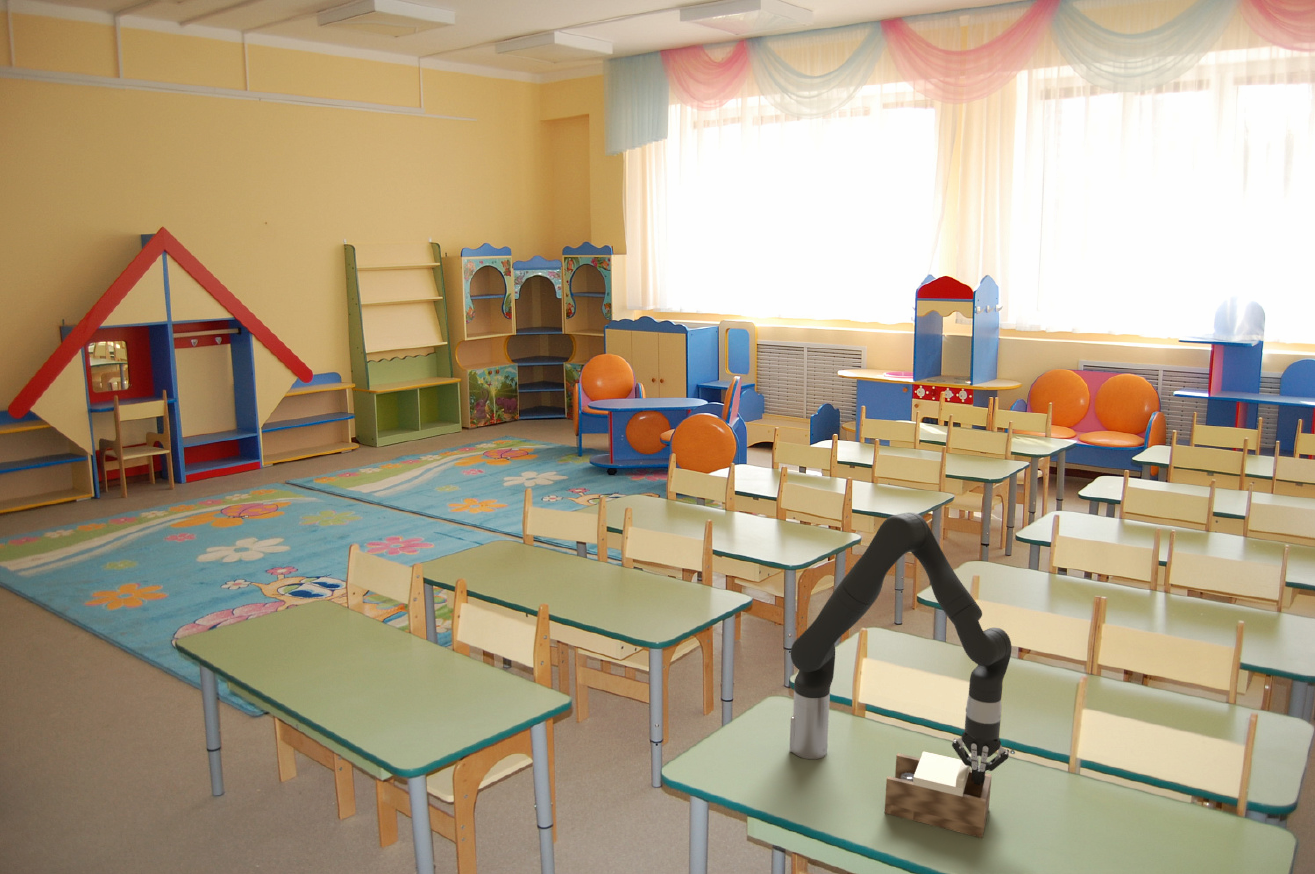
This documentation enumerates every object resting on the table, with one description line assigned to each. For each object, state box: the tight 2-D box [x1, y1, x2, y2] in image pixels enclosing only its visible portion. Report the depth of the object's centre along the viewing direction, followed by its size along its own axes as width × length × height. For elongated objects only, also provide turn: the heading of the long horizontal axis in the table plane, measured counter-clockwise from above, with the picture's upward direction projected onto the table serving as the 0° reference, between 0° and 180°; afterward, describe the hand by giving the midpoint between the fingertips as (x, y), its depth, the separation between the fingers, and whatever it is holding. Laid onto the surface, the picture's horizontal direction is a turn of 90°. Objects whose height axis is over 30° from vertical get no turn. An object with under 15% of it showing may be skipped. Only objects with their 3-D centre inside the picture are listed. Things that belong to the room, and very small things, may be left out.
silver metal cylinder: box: [901, 773, 914, 782], centre depth 228 cm, size 4×4×7 cm
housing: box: [884, 752, 992, 839], centre depth 225 cm, size 22×12×9 cm, turn 65°
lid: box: [913, 751, 971, 796], centre depth 224 cm, size 11×12×4 cm
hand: (977, 782), depth 221 cm, fingers closed
